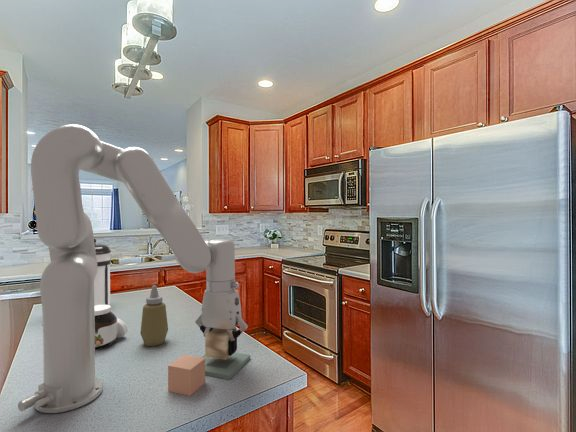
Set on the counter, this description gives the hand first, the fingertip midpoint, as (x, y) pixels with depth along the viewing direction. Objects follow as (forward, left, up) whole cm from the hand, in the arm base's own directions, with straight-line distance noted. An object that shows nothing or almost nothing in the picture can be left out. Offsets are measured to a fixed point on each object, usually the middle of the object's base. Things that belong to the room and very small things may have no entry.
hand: (221, 351), depth 87 cm
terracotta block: (-12, +2, -4) cm, 13 cm away
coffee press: (+22, +73, -4) cm, 76 cm away
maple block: (0, 0, -1) cm, 1 cm away
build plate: (0, 0, -4) cm, 4 cm away
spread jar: (+1, +42, -4) cm, 42 cm away
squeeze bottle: (+6, +27, -4) cm, 28 cm away
